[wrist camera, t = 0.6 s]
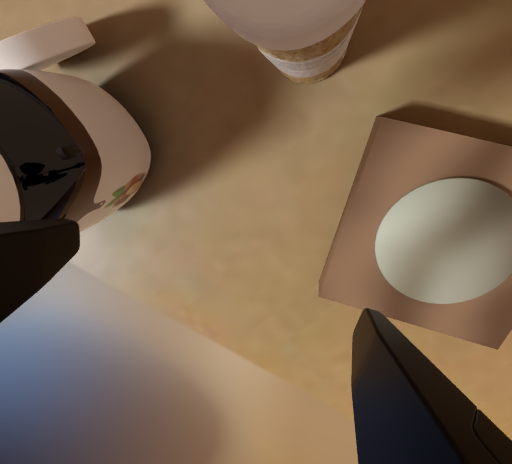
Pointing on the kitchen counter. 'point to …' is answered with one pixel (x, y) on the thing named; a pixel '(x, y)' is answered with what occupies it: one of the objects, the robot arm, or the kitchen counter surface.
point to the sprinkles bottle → (294, 32)
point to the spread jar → (62, 133)
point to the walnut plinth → (428, 233)
